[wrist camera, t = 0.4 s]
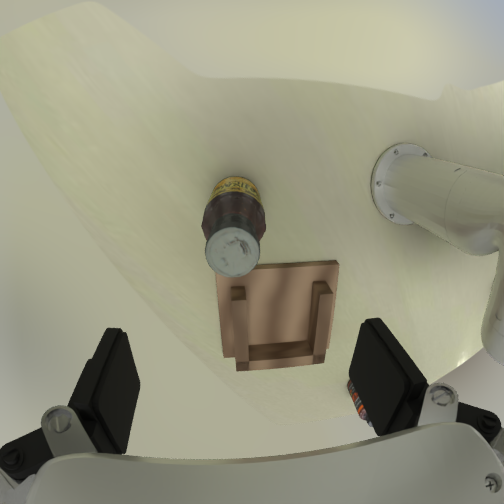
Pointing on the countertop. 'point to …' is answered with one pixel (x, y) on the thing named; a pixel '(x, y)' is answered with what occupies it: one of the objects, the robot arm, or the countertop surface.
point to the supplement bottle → (358, 403)
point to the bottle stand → (278, 314)
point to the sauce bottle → (233, 227)
